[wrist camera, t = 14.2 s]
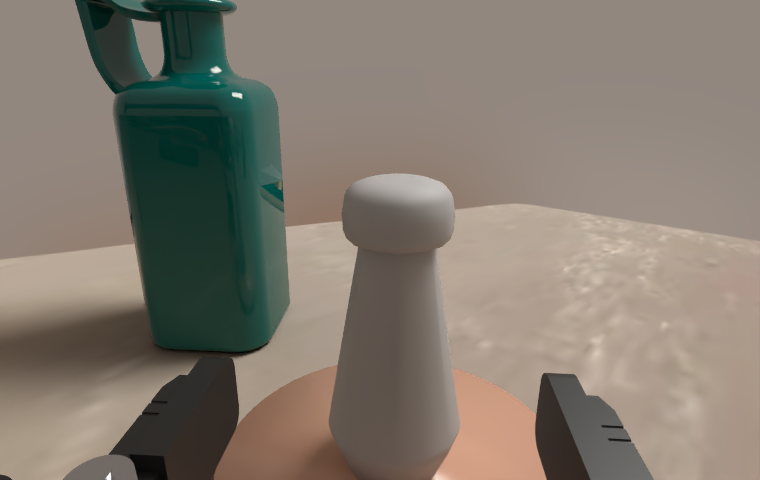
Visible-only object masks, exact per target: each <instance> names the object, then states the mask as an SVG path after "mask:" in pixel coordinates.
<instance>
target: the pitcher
mask: <svg viewBox="0 0 760 480" xmlns="http://www.w3.org/2000/svg"><path fill="white" fill-rule="evenodd" d="M75 2H76V5H77V9H78V12H79V15H80V19H81V23H82V26H83V30H84V33H85V37H86V40H87V44H88V47H89V50H90V53H91V56H92V59H93V61H94V64H95V66H96V68H97V70H98V71H99V73H100V75H101V76H102V78H103V79H104V81H105V82H106V84H107V85H108V86H109V88H110V89H111V90H112V91H113V92H114V93H115V94H116V96H115V99H114V103H113V117H114V124H115V130H116V136H117V142H118V148H119V154H120V160H121V165H122V171H123V177H124V182H125V189H126V195H127V201H128V207H129V213H130V219H131V225H132V230H133V236H134V243H135V248H136V254H137V260H138V266H139V272H140V278H141V284H142V290H143V296H144V302H145V308H146V314H147V320H148V326H149V331H150V337H151V338H152V340H153V341H154V342H155V343H156V345H158V346H160V347H163V348H166V349H178V350H199V351H220V352H245V351H251V350H254V349H256V348H259V347H261V346H263V345H264V344H266V343H267V342H268V341H269V340H271V338H272V336H273V334H274V332H275V330H276V329H277V327H278V325H279V323H280V321H281V319H282V318H283V316H284V314H285V312H286V310H287V308H288V307H289V304H290V297H289V280H288V264H287V248H286V231H285V216H284V199H283V182H282V167H281V151H280V150H281V149H280V133H279V116H278V106H277V101H276V98H275V96H274V94H273V92H272V91H271V89H270V88H269V87H268V86H266V85H264V84H263V83H261V82H259V81H256V80H252V79H246V78H242V77H240V76H238V75H236V74H235V73H234V72H233V71H232V70H231V68H230V66H229V64H228V61H227V57H226V49H225V38H224V27H223V16H226V15H231V14H233V13H234V12H235V11H236V9H237V6H236V4H235V3H234V2H232V1H229V0H75ZM131 19H136V20H140V21H147V22H154V23H159V24H160V25H161V33H162V40H163V48H164V64H163V67H162V70H161V71H160V73H159V74H158V75H156V76H154V77H152V76H151V75H150V74H149V72H148V71H147V69H146V67H145V65H144V63H143V61H142V59H141V56H140V53H139V50H138V46H137V42H136V37H135V33H134V28H133V24H132V20H131Z"/></svg>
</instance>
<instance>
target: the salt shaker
mask: <svg viewBox="0 0 760 480" xmlns="http://www.w3.org/2000/svg"><path fill="white" fill-rule="evenodd" d="M454 221H455V209H454V202H453V196H452V194H451V192H450V191H449V189H448V188H447V187H446V186H445V185H444V184H443V183H441V182H439V181H436V180H433V179H431V178H427V177H425V176H418V175H412V174H411V175H410V174H383V175H376V176H371V177H368V178H364V179H362V180H359V181H356V182H354V183H353V184H352V185H351V186H350V187H349V189H348V190H347V191H346V194H345V197H344V203H343V209H342V222H343V231H344V233H345V236H346V238H347V239H348V240H349V241H350V242H351V243H353V244H354V245H355V246H358V252H357V258H356V263H355V269H354V275H353V281H352V286H351V292H350V298H349V304H348V309H347V315H346V321H345V327H344V332H343V338H342V344H341V350H340V355H339V361H338V367H337V373H336V378H335V384H334V390H333V396H332V401H331V408H330V414H329V421H328V423H329V427H330V431H331V433H332V435H333V437H334V440H335V442H336V444H337V446H338V448H339V450H340V452H341V454H342V455H343V457H344V459H345V460H346V462H347V464H348V465H349V467H350V469H351V470H352V472H353V474H354V475H355V477H356V478H357V479H359V480H432V478H433V476H434V475H435V473H436V472H437V470H438V469H439V467H440V466H441V464H442V462H443V461H444V459H445V458H446V456H447V455H448V453H449V451H450V449H451V447H452V445H453V443H454V441H455V439H456V437H457V435H458V432H459V428H460V419H459V412H458V405H457V399H456V392H455V386H454V378H453V370H452V362H451V354H450V347H449V339H448V331H447V323H446V316H445V308H444V300H443V292H442V284H441V277H440V269H439V261H438V253H437V248H439V247H442V246H443V245H444V244H445V243H446V242H448V241H449V240H450V238H451V236H452V233H453V230H454Z"/></svg>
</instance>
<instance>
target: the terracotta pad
mask: <svg viewBox="0 0 760 480" xmlns="http://www.w3.org/2000/svg"><path fill="white" fill-rule="evenodd" d="M337 367H338V365H337V366H332V367H328V368H325V369H322V370H319V371H316V372H313V373H310V374H308V375H306V376H303V377H301V378H299V379H296V380H294V381H292V382H291V383H289V384H287V385H285V386H283V387H281V388H280V389H278V390H277V391H275V392H274V393H272V394H271V395H269V396H268V397H266V398H265V399H264V400H263V401H261V402H260V403H259V404H258V405H257V406H255V407H254V408H253V409H252V410H251V411H250V412H249V413H248V414H247V415H246V416H245V417H244V419H243V420H242V421H241V422H240V423H239V425H238V426H237V427H236V429H235V432H234V434H233V436H232V438H231V440H230V442H229V444H228V446H227V448H226V450H225V452H224V454H223V456H222V458H221V460H220V462H219V464H218V466H217V468H216V470H215V475H214V480H359V479H357V478H356V477H355V475H354V474H353V472H352V470H351V469H350V467H349V465H348V464H347V462H346V460H345V459H344V457H343V455H342V454H341V452H340V450H339V448H338V446H337V444H336V442H335V440H334V437H333V435H332V433H331V431H330V427H329V423H328V421H329V414H330V408H331V401H332V396H333V390H334V384H335V378H336V373H337ZM452 370H453V378H454V386H455V392H456V399H457V405H458V412H459V419H460V428H459V432H458V435H457V437H456V439H455V441H454V443H453V445H452V447H451V449H450V451H449V453H448V455H447V456H446V458H445V459H444V461H443V462H442V464H441V466H440V467H439V469H438V470H437V472H436V473H435V475H434V476H433V478H432V480H547V479H546V476H545V473H544V470H543V466H542V463H541V460H540V457H539V453H538V450H537V446H536V438H535V422H536V415H535V414H534V413H533V412H532V411H531V410H530V409H529V408H528V407H526V406H525V405H524V404H523V403H522V402H520V401H519V400H517V399H516V398H515V397H513V396H512V395H510V394H509V393H507V392H506V391H504V390H502V389H501V388H499V387H497V386H495V385H494V384H492V383H489V382H487V381H485V380H483V379H481V378H479V377H477V376H474V375H471V374H469V373H466V372H463V371H460V370H457V369H453V368H452Z"/></svg>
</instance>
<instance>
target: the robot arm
mask: <svg viewBox="0 0 760 480" xmlns="http://www.w3.org/2000/svg"><path fill="white" fill-rule="evenodd" d="M238 416H239V404H238V394H237V385H236V376H235V366H234V362H233V360H232V359H231V358H222V357H202V358H200V359H199V361H198V362H197V363H196V365H195V366H194V367H193V369H192V370H191V371H190V373H189V374H188V375H179V376H178V377H176V378H175V379H173V380H172V381H170V382H169V383H167V384H166V385H164V386H163V387H162V388H161V389H160V391H159V392H158V393H157V394H156V396H155V397H154V398H153V399H152V402H151V403H149V404H148V406H147V407H146V408H145V409H144V411H143V412H142V415H140V416H139V417H138V418H137V419H136V421H135V422H134V423H133V425H132V426H131V427H130V428H129V430H128V431H127V432H126V433H125V435H124V436H123V437H122V438H121V440H120V441H119V442H118V443H117V445H116V446H115V447H114V448H113V450H112V451H111V452H110V453H109V455H105V456H100V457H97V458H94V459H91V460H89V461H86V462H85V463H83V464H81V465H79V466H78V467H76V468H75V469H73V470H72V471H71V472H70V473H68V474H67V475H66V476H65V478H64V479H63V480H211V478H212V476H213V474H214V472H215V470H216V468H217V466H218V464H219V462H220V460H221V458H222V456H223V454H224V452H225V450H226V448H227V446H228V444H229V442H230V440H231V438H232V436H233V434H234V432H235V429H236V426H237V422H238ZM535 438H536V446H537V450H538V453H539V457H540V460H541V463H542V466H543V470H544V473H545V476H546V479H547V480H654V479H653V477H652V476H651V474H650V472H649V470H648V469H647V467H646V465H645V463H644V461H643V460H642V458H641V456H640V454H639V453H638V451H637V449H636V447H635V446H634V444H633V443H631V439H630V437H629V435H628V433H627V432H626V430H625V429H624V428H623V424H622V423H621V421H620V419H619V417H618V416H617V414H616V412H615V410H614V409H612V408H611V407H610V406H609V405H608V404H607V403H605V402H604V401H603V400H602V399H601V398H600V397H598V396H587V395H586V394H585V392H584V390H583V388H582V386H581V384H580V382H579V380H578V379H577V377H576V376H575V375H574V374H555V373H544V374H543V375H542V378H541V384H540V392H539V399H538V407H537V414H536V422H535ZM0 480H12V479H11V478H9V477H8V476H5V475H0Z"/></svg>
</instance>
